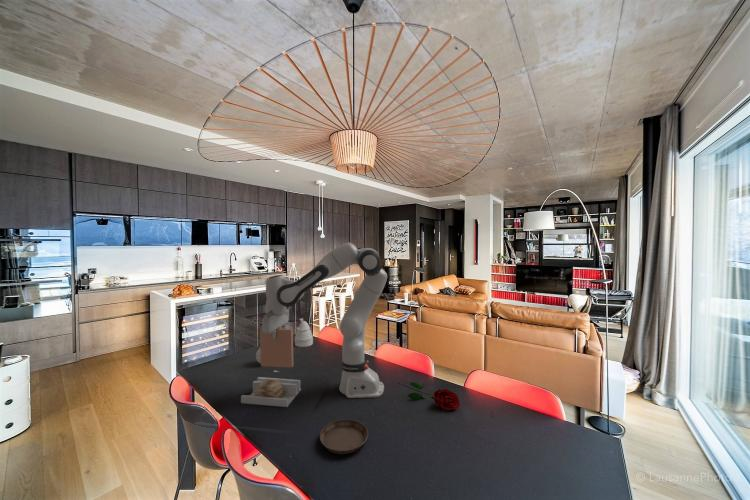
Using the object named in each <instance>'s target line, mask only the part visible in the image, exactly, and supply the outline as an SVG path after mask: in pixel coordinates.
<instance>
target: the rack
mask: <svg viewBox="0 0 750 500" xmlns="http://www.w3.org/2000/svg"><path fill="white" fill-rule="evenodd" d="M264 380H277V381H281V386H283V391H285V397H284V398H273V397H261V396H255V395H256V391H257V390H258V385H260V384H261V383H262V382H263V381H264ZM301 390H302V388H301V379H293V378H292V379H291V378H289V379H288V378H277V377H276V378H275V377H265V376H264V377H261V376H258V377H257V378H256V380H253V382H252V393H251V394H249V395H247V394H245V395H244V394H242V395H241V396H240V403H241V404H248V405H257V406H258V405H259V406H271V407H280V408H281V407H283V408H288V407H289V406H290V404H291V403H292V402H293V400H294V399H295V398H296V396H297V395H298V394H299V393H300V392H301Z"/></svg>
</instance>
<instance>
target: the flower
mask: <svg viewBox="0 0 750 500" xmlns="http://www.w3.org/2000/svg"><path fill="white" fill-rule="evenodd" d="M421 382H422V385H421V384H420V383H419V382H418V383H417V382H411V381H410V382H408V383H409V384H410V385H411V387H410V386H407V385H404V384H403V383H400V382H398V384H399V385H402V386H404V387H406V388H408V389H410V390H413V391H416V392H411V393H408V394H407V395H406V396H407V397H408V398H410V399H412V400H419V399H420V398H421V397H422V398H423V399H426V397H425V396H424V395H423V394H425V395H428V396H429V395H430V396H431V397H430V399H432V400H434V403H435V404H436V406H438V407H439V408H441V409H442V410H443V411H445V412H446V411H454V410H457V409H459V408H460V405H461V403H460V399H459V396H458V395H457V393H455V392H454V391H451V390H449V389H447V388H443V389H437V390H435V391H434V392H433V394H432V393H431V394H430V393H427V392H423V391H420V390H422V389H425V383H424V382H423V380H421ZM412 387H413V388H412Z"/></svg>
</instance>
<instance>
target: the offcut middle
mask: <svg viewBox="0 0 750 500" xmlns="http://www.w3.org/2000/svg"><path fill="white" fill-rule="evenodd" d="M282 391H283V386H280V387H279V388H278V389H277V390H276V391H275V392H264V391H258V390H257V391H256V396H262V397H274V398H277V397H278V396H279V395H280V394H281V393H282Z"/></svg>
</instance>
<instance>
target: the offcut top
mask: <svg viewBox="0 0 750 500" xmlns="http://www.w3.org/2000/svg"><path fill="white" fill-rule="evenodd" d="M280 386H281V381H277V380H264V381H263V382H262V383H261V384H260V385H258V391H264V392H275V391H276V390H277V389H278V388H279V387H280Z"/></svg>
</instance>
